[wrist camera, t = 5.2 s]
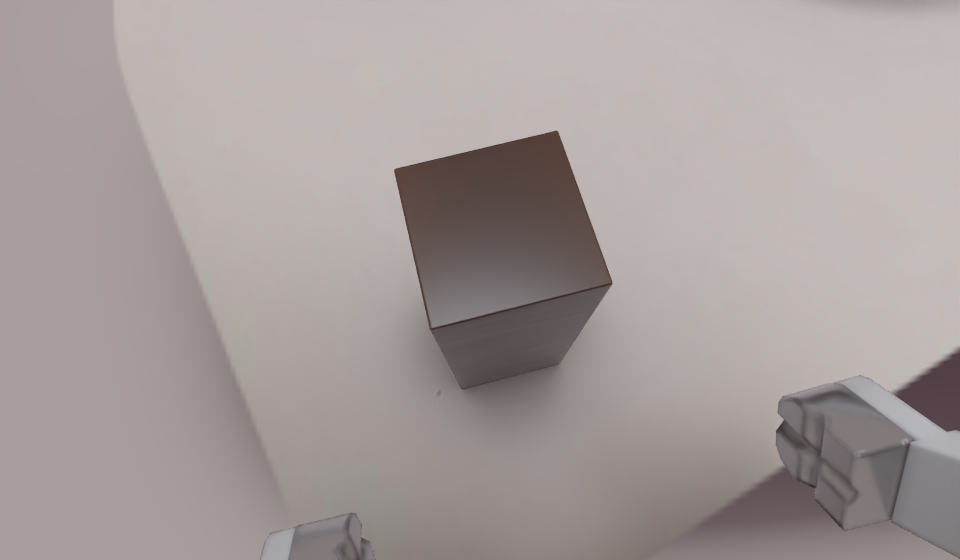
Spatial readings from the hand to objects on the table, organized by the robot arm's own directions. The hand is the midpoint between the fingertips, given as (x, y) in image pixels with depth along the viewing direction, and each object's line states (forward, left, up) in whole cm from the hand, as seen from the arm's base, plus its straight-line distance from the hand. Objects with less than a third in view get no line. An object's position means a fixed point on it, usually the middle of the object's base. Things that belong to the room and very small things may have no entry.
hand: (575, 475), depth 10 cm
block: (0, +5, -10) cm, 11 cm away
